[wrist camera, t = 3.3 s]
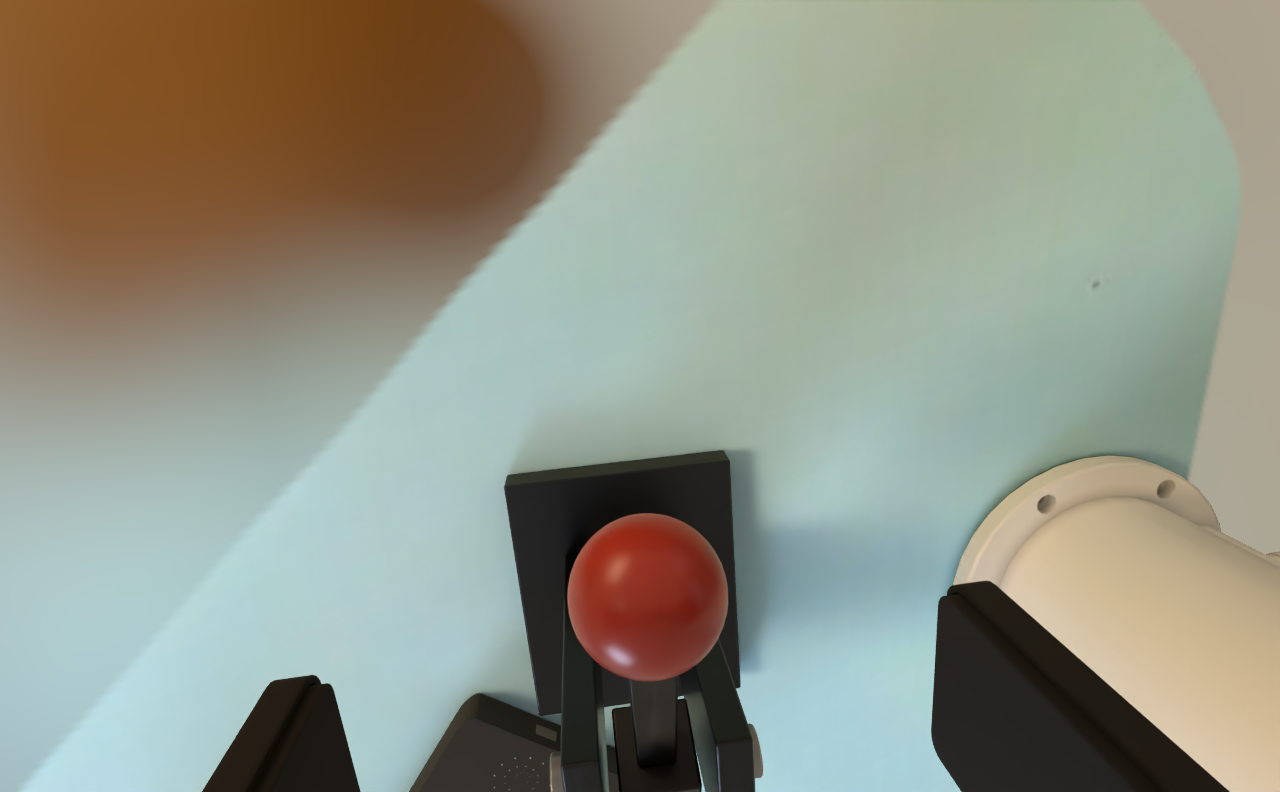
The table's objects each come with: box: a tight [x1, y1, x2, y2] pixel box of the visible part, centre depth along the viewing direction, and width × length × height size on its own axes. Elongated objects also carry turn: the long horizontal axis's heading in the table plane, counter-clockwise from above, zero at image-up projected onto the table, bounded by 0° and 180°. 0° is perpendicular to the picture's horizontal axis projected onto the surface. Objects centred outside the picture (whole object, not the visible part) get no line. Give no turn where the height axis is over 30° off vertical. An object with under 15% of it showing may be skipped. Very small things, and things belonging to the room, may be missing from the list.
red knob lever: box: [567, 513, 728, 792], centre depth 16 cm, size 12×3×3 cm, turn 4°
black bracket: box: [504, 451, 763, 792], centre depth 23 cm, size 11×9×12 cm
